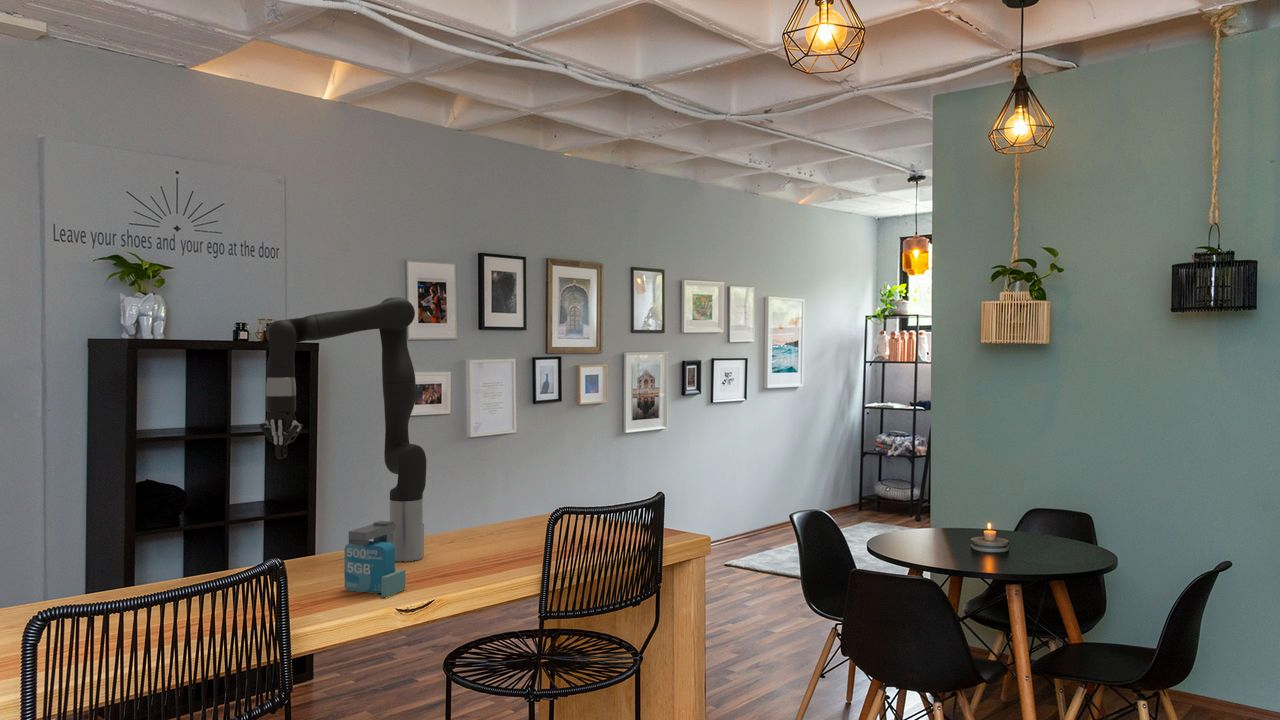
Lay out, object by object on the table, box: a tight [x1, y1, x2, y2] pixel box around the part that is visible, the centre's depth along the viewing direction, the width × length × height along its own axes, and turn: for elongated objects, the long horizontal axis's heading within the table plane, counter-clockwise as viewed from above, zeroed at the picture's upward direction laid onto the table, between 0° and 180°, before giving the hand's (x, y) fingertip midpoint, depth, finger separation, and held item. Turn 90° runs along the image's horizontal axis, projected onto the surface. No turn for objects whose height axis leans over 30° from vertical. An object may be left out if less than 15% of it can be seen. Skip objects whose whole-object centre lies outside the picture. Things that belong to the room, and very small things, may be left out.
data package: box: [343, 540, 396, 594], centre depth 235 cm, size 12×4×12 cm, turn 71°
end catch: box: [380, 569, 406, 598], centre depth 232 cm, size 8×2×5 cm, turn 161°
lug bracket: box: [348, 520, 395, 545], centre depth 237 cm, size 14×7×16 cm, turn 161°
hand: (281, 458), depth 252 cm, fingers closed
